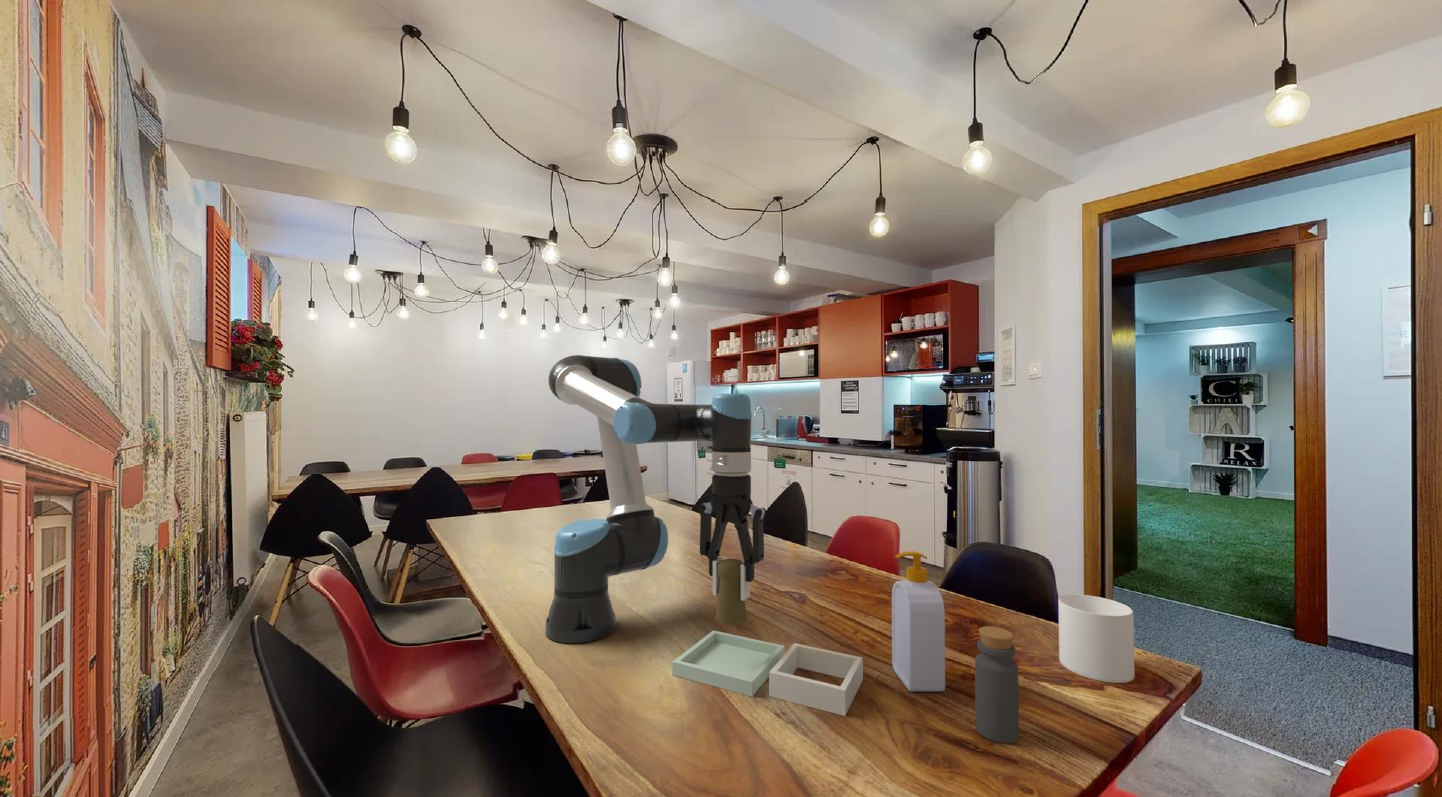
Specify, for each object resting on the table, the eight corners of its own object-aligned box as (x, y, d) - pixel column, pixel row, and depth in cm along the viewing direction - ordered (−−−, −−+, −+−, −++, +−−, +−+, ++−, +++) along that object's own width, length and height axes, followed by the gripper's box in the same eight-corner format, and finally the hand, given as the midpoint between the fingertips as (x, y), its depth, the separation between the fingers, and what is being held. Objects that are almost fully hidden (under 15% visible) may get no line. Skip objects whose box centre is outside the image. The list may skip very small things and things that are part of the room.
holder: (769, 695, 90) (769, 672, 90) (794, 664, 102) (794, 642, 102) (845, 716, 84) (845, 690, 84) (862, 679, 96) (862, 657, 96)
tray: (672, 674, 97) (672, 661, 97) (713, 641, 111) (713, 630, 111) (752, 696, 90) (752, 682, 90) (784, 658, 104) (784, 645, 104)
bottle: (967, 721, 83) (967, 624, 83) (1003, 720, 83) (1002, 623, 84) (989, 744, 77) (988, 640, 77) (1027, 743, 77) (1026, 639, 78)
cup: (1067, 648, 109) (1066, 590, 110) (1139, 668, 101) (1137, 604, 101) (1052, 667, 101) (1051, 604, 101) (1128, 690, 93) (1127, 621, 93)
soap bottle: (887, 668, 100) (887, 546, 101) (924, 667, 100) (923, 546, 101) (905, 693, 91) (905, 559, 92) (945, 692, 91) (944, 559, 92)
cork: (744, 625, 97) (744, 565, 98) (712, 622, 98) (712, 563, 99) (749, 613, 103) (749, 556, 103) (718, 611, 104) (719, 554, 105)
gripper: (680, 473, 103) (680, 594, 102) (768, 478, 94) (768, 610, 93) (699, 469, 109) (699, 583, 108) (782, 474, 101) (783, 597, 100)
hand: (731, 595), depth 101 cm, fingers closed on cork, 5 cm apart
